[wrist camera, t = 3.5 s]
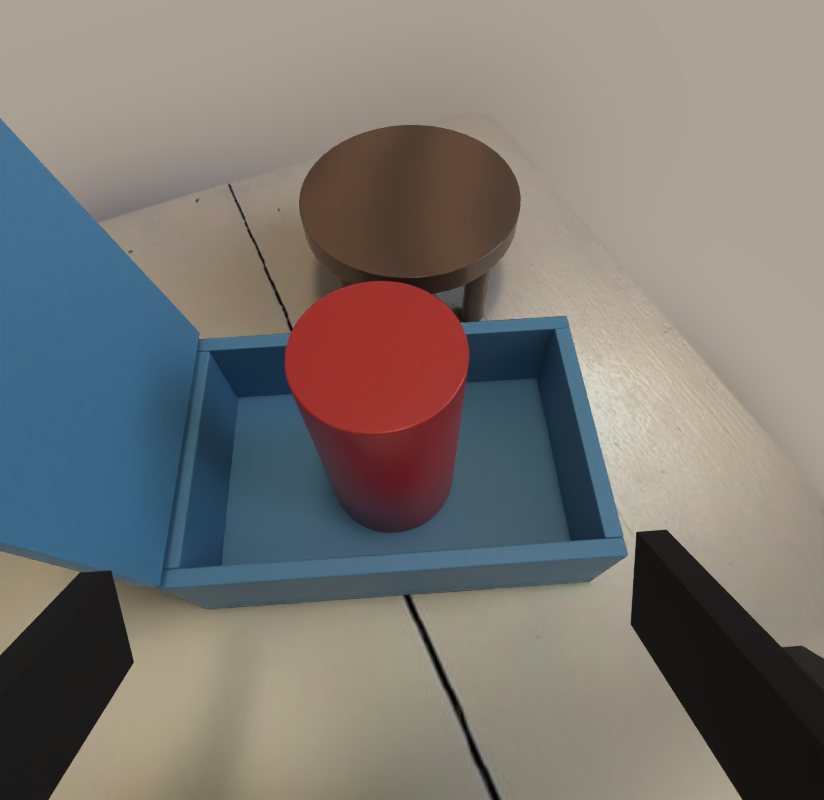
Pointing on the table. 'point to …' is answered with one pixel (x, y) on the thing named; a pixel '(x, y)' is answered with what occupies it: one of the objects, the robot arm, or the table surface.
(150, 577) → the cool box lid
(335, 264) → the round footed platform
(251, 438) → the blue open box
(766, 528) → the table surface
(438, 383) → the red cylinder
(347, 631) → the table surface
